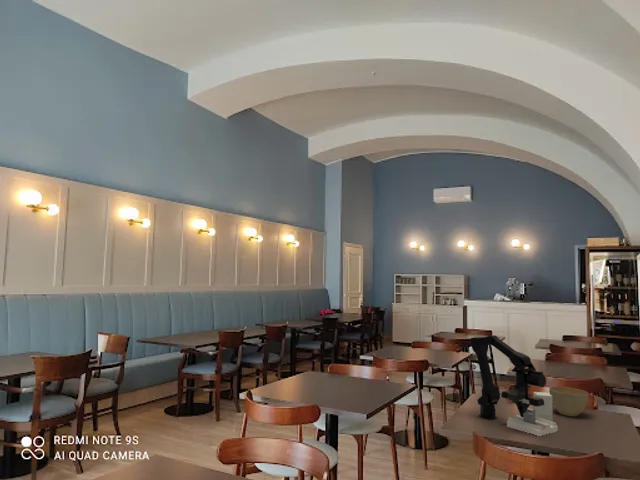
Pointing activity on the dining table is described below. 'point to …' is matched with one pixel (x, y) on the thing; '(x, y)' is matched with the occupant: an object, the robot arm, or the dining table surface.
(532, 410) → the switch tab
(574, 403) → the olive green bowl
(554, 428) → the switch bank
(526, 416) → the switch tab
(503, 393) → the robot arm
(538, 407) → the supplement box
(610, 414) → the dining table surface
